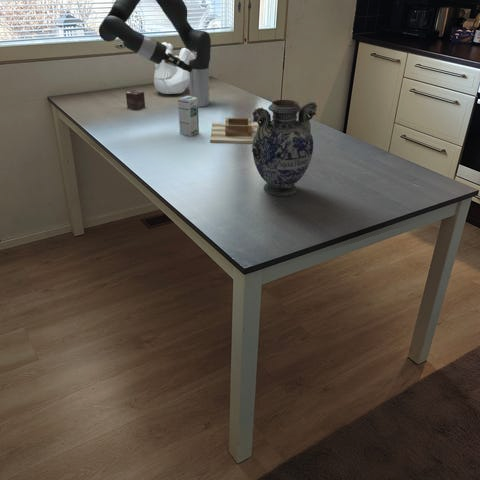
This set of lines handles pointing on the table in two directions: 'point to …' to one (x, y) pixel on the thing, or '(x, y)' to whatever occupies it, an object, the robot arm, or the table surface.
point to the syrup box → (188, 115)
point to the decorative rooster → (172, 73)
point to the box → (135, 100)
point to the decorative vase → (283, 145)
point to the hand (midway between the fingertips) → (189, 68)
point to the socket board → (233, 131)
